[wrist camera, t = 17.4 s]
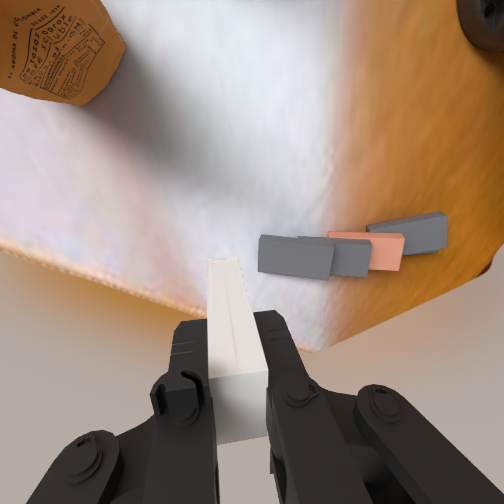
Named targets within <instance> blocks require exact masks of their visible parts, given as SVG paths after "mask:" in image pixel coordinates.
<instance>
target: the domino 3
mask: <svg viewBox="0 0 504 504" xmlns="http://www.w3.org/2000/svg"><path fill="white" fill-rule="evenodd" d="M328 238H345V239H367V240H370V241H371V243H372V250H371V256H370V262H369V268H368V269H373V270H392V271H399V266H400V261H401V256H402V251H403V246H404V241H405V238H404V237H403V235H402V234H401V233H365V232H328Z"/></svg>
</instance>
